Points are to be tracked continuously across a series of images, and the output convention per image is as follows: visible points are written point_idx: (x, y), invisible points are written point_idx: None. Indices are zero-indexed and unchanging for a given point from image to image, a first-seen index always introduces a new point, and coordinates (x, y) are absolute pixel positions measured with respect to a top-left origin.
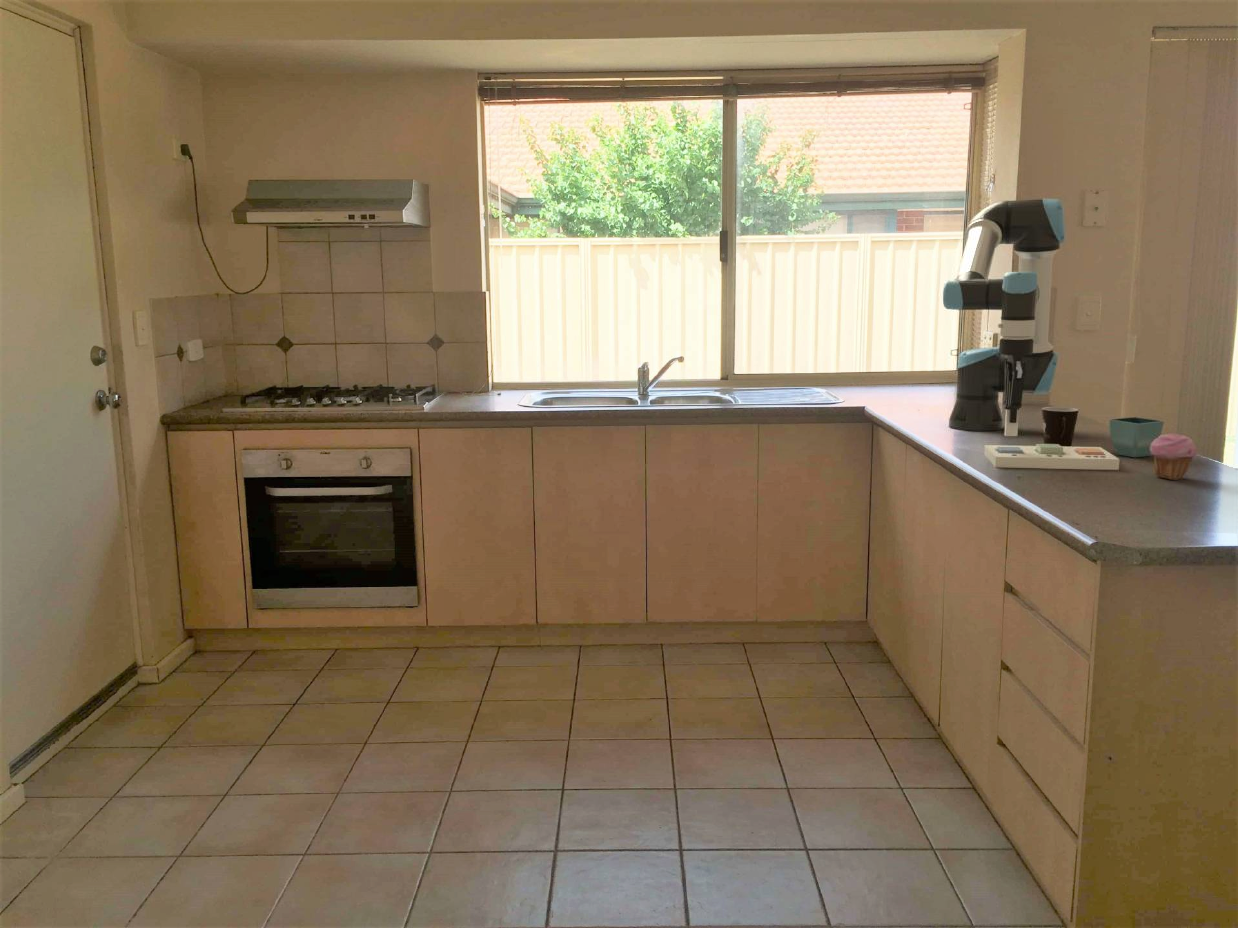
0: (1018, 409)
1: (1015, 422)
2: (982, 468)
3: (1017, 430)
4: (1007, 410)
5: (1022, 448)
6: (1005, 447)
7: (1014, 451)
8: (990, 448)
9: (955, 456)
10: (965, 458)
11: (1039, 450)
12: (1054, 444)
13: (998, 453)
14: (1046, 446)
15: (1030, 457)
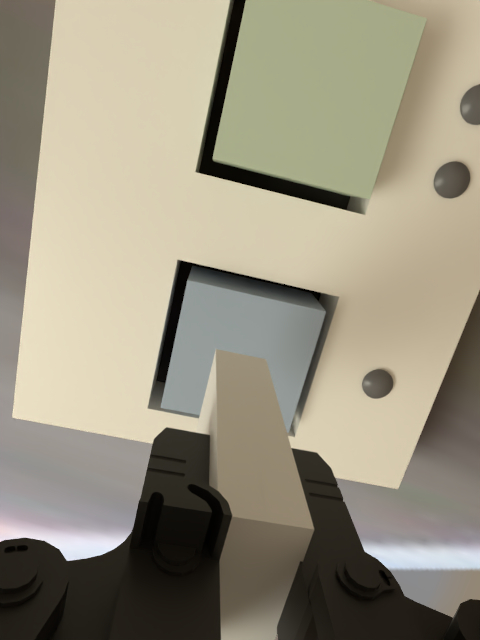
0: (354, 554)
1: (316, 461)
2: (387, 511)
3: (272, 382)
4: (268, 636)
5: (149, 232)
6: (197, 371)
7: (309, 356)
8: (136, 427)
9: (78, 529)
10: (135, 504)
11: (324, 188)
12: (263, 12)
13: (303, 442)
14: (343, 135)
15: (465, 320)
